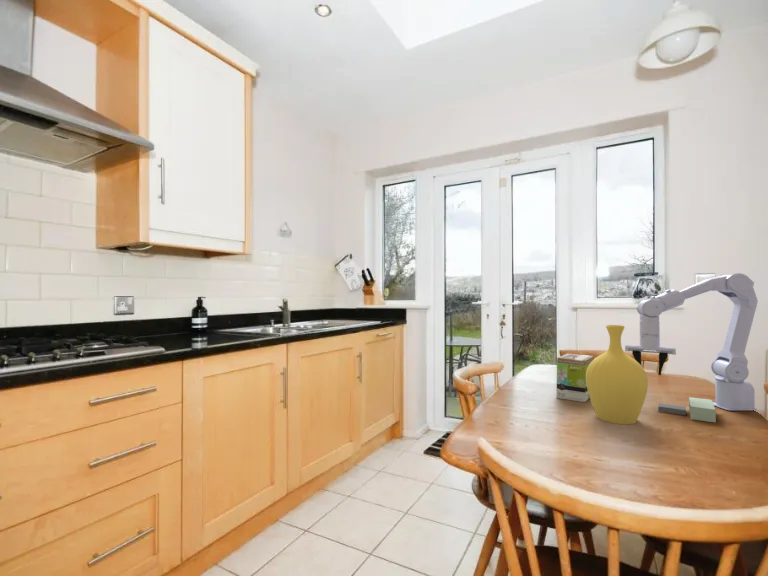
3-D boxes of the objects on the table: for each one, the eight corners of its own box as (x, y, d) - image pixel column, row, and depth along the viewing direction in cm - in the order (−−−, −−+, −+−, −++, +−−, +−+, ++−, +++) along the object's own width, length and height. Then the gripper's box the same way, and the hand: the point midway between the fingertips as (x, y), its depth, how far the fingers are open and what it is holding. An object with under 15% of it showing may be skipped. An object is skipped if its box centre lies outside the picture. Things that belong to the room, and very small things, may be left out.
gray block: (658, 412, 126) (658, 406, 126) (659, 408, 130) (658, 402, 130) (685, 416, 121) (685, 410, 121) (685, 412, 125) (685, 406, 125)
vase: (659, 429, 109) (657, 328, 109) (595, 425, 112) (594, 327, 112) (634, 412, 124) (633, 324, 125) (579, 409, 128) (578, 323, 128)
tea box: (586, 403, 135) (586, 360, 135) (555, 398, 141) (555, 357, 141) (594, 394, 147) (594, 354, 147) (565, 390, 153) (565, 352, 153)
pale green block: (690, 419, 118) (690, 406, 118) (689, 408, 128) (688, 397, 128) (715, 422, 114) (715, 409, 114) (711, 411, 125) (711, 399, 125)
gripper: (624, 334, 137) (624, 373, 137) (675, 336, 129) (676, 378, 128) (625, 332, 143) (626, 369, 143) (675, 334, 134) (675, 374, 134)
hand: (650, 373), depth 136 cm, fingers open, 5 cm apart
